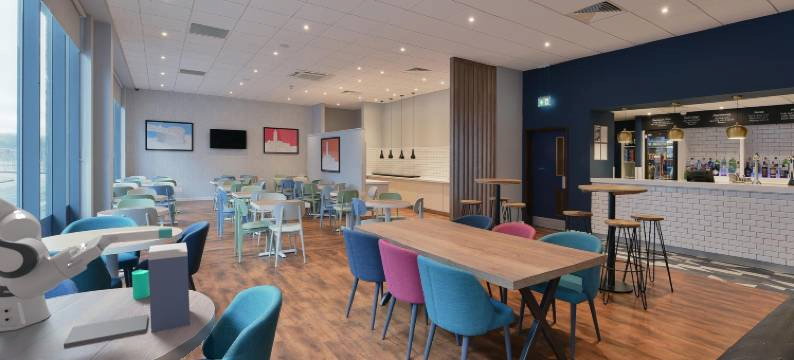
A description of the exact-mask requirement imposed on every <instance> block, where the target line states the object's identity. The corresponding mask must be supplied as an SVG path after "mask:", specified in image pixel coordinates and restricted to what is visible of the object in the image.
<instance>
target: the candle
mask: <svg viewBox="0 0 794 360" xmlns="http://www.w3.org/2000/svg"><path fill="white" fill-rule="evenodd" d="M131 280H132V281H131V282H132V299H134V300H141V299H146V298H148V297H150V291H149V269H148V270H144V269H137V270H134V271H132V272H131Z"/></svg>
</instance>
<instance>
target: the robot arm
mask: <svg viewBox="0 0 794 360" xmlns="http://www.w3.org/2000/svg"><path fill="white" fill-rule="evenodd" d="M116 240H117V238H116V236H115V235H113V236H111V237H110V238H108V239H106V240H104V241H102V235H100V236H97V237H94V238H92V239H89V240H87V241H85V242H84V243H81V244H80V245H74V246H71V247H70V246H67V247H66V248H64V249H63V250H60V251H59V252H57V253H56V254H53V255H52V256H51V254H50V251H49V250H48V248H47V246H46V244H45V243H44V242H43V241H42V224H41V223H40V221H39V220H38V218H37V217H36V216H35V215H33V214H32V213H31V212H30V211H27V210H25V209H23V208H21V207H20V206H19V207H18V206H17V205H15V204H13V203H11V202H9V201H7V200H5V199H3V198H1V197H0V332H10V331H17V330H20V329H22V328H25V327H27V326H30V325H33V324H37V323H39V322H42V321H43V320H46V319H48V318H49V317H51V314H52V313H51V312H50V310H49V307H48V303H47V300H46V295H45V293H49V292H50V291H51V290H53V289H55V288H56V287H58V286H59V285H60V284H61V283H63V282H64V281H68V280H70V279H72V278H74V277H75V276H77V275H79V274H81V273H82V272H84V271H86V270H87V269H88V265H89V264H90V262H92V261H93V260H96V259H97V258H99V257H100V256H102V255H103V252H104V251H105V250H106V248H107V247H108V246H110V245H111V244H114V243H113V242H115V241H116Z"/></svg>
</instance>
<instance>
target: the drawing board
mask: <svg viewBox="0 0 794 360" xmlns="http://www.w3.org/2000/svg"><path fill="white" fill-rule="evenodd" d="M148 319H149V315H148V314H142V315H135V316H129V317H124V318H118V319H113V320H112V319H111V320H106V321H100V322H93V323H88V324H83V325H76V326H72V328H71V330H70V332H69V333H68V335H67V336H66V339H65V341H64V342H63V348H69V347H74V346H75V347H76V346H81V345H86V344H91V343H96V342H101V341H106V340H111V339H112V340H113V339H118V338H122V337H124V338H125V337H129V336H134V335H139V334H144V333H147V330H148V329H147V328H148V321H149V320H148Z"/></svg>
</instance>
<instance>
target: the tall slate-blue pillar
mask: <svg viewBox="0 0 794 360" xmlns="http://www.w3.org/2000/svg"><path fill="white" fill-rule="evenodd" d="M188 259H189V258H188V247H187V242H179V243H167V244H158V245H150V246H149V250H148V254H147V260H148V261H147V263H148V268H147V269H148V271H149V294H150V296H149V313H150V333H157V332H161V331H167V330H172V329H177V328H182V327H188V326H190V325H191V319H190V318H191V317H190V316H191V315H190V313H191V311H190V292H189V291H190V289H189V287H190V285H189V263H188V261H189V260H188Z"/></svg>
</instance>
